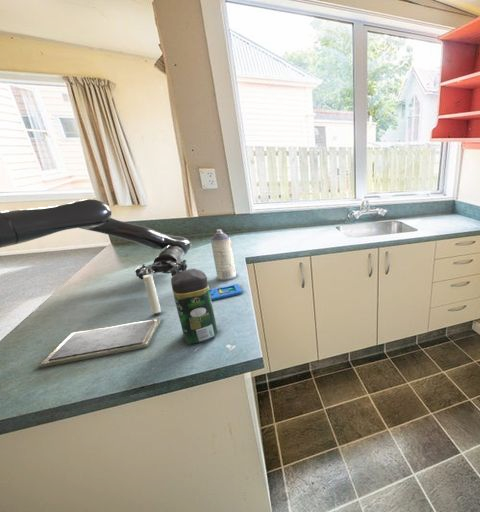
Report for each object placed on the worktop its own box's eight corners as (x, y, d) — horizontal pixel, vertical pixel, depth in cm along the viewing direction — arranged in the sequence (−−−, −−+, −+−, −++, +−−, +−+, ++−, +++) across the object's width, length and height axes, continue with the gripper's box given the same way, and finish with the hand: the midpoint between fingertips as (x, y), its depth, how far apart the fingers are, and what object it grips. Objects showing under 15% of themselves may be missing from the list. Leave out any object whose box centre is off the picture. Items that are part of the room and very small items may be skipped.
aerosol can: (239, 276, 122) (232, 229, 116) (223, 281, 117) (215, 232, 111) (230, 273, 126) (222, 227, 120) (214, 278, 120) (205, 230, 114)
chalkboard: (41, 367, 68) (39, 363, 68) (72, 336, 81) (71, 332, 80) (147, 347, 76) (145, 343, 76) (160, 321, 88) (159, 317, 88)
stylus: (152, 316, 91) (141, 277, 87) (154, 313, 93) (144, 275, 89) (160, 315, 91) (150, 276, 87) (162, 312, 93) (153, 274, 89)
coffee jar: (182, 332, 83) (167, 270, 77) (213, 323, 88) (202, 264, 82) (186, 348, 76) (170, 282, 70) (220, 338, 80) (208, 274, 75)
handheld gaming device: (191, 292, 104) (237, 282, 113) (192, 295, 105) (237, 285, 113) (194, 301, 98) (242, 290, 107) (194, 304, 98) (242, 293, 107)
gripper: (143, 253, 108) (127, 267, 94) (189, 249, 113) (180, 261, 99) (148, 272, 110) (133, 288, 96) (192, 267, 116) (184, 282, 102)
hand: (157, 275), depth 98 cm, fingers open, 8 cm apart
